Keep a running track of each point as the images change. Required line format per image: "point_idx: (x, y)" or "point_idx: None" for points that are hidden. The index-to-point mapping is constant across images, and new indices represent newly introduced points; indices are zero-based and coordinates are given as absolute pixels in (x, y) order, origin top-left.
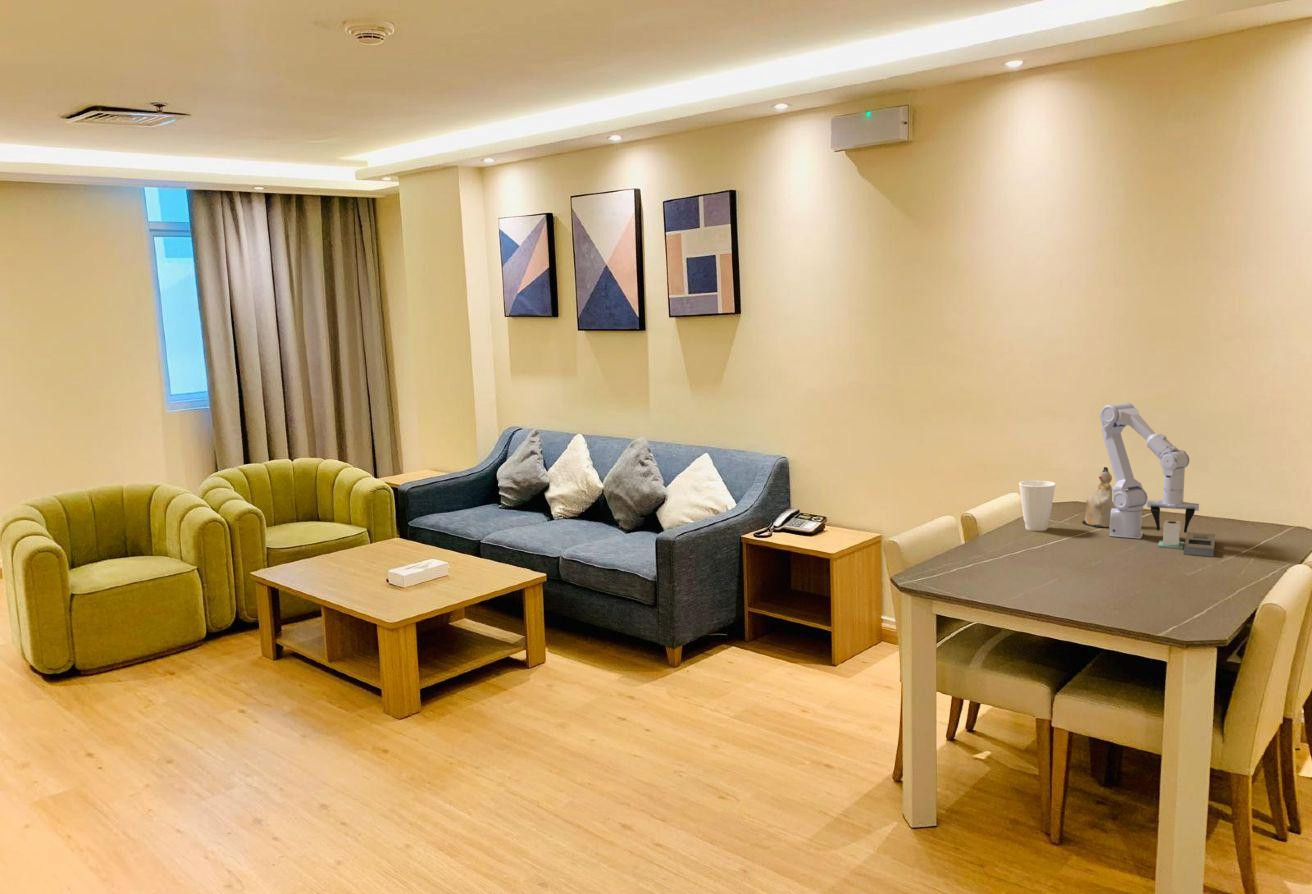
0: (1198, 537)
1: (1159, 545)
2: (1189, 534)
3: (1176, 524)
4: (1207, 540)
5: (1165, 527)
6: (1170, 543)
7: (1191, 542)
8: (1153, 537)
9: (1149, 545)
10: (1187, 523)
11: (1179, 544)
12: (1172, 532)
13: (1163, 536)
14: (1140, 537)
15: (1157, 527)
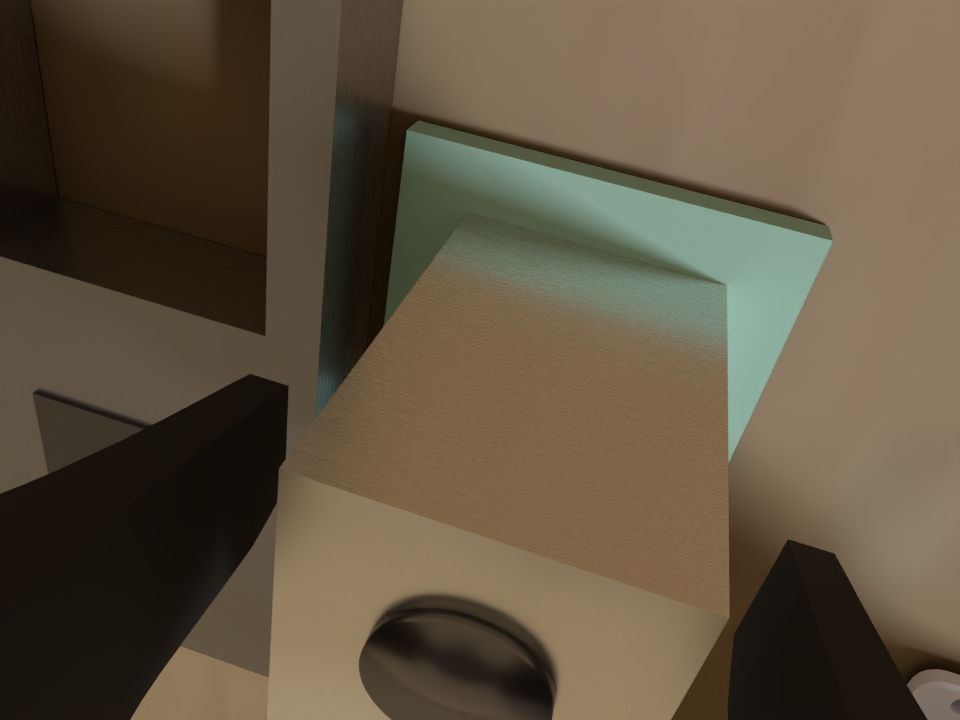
0: None
1: (806, 233)
2: (269, 590)
3: (367, 489)
4: (12, 274)
5: (677, 499)
6: (595, 265)
7: (258, 302)
8: (701, 711)
9: (949, 333)
10: (77, 481)
11: None
12: (523, 373)
13: (719, 368)
14: (934, 683)
15: (849, 598)
